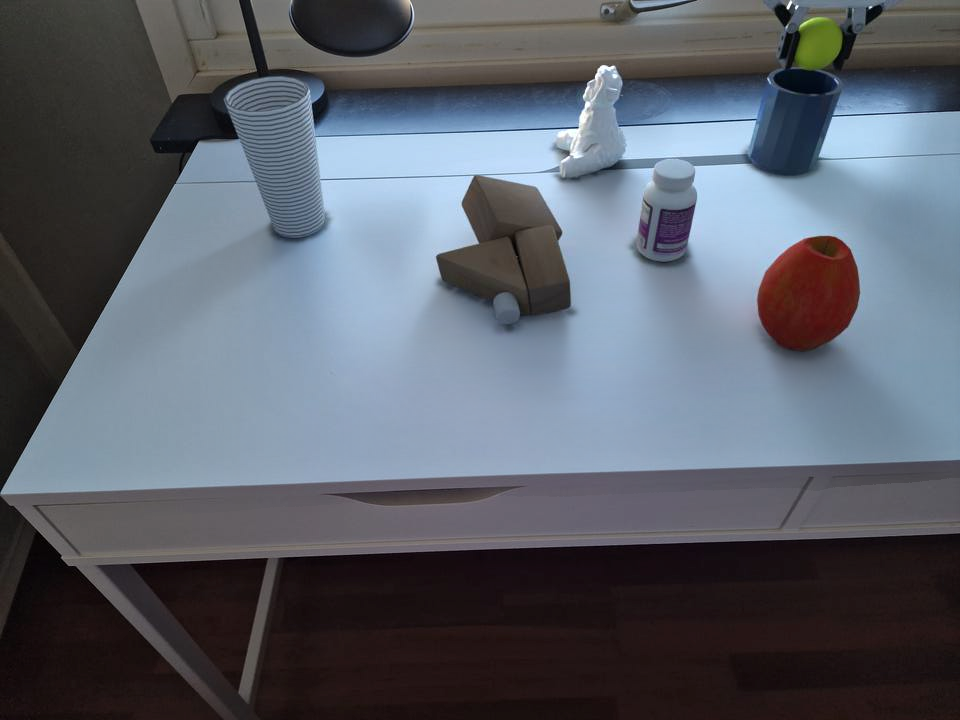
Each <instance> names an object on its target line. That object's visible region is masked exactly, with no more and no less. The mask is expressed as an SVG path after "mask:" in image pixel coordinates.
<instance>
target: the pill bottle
mask: <svg viewBox="0 0 960 720" xmlns="http://www.w3.org/2000/svg"><path fill="white" fill-rule="evenodd" d="M695 175H696V168H695V166H694V165H693V164H692V163H691V162H688V161H686V160H683V159H678V158H667V159H662V160H660V161H658V162H656V163H655V164H654V166H653V172H652V176H651V178H652V179H651V180H650V181H649V182H648V183H647V184H646V185H645V187H644V190H643V193H642V201H641V206H640V207H641V210H640V214H639V220H638V221H639V222H638V229H637V236H636V248H637V250H638V252H639V253H640V254H641V255H642V256H644V257H645V258H647V259H649V260H651V261H655V262H663V263H664V262H665V263H667V262H672V261H676V260H678V259H680V258H682V257H683V256H684V254H685V253H686V251H687V248H688V244H689V239H690V234H691V229H692V224H693V220H694V215H695V211H696V206H697V201H698V191H697V188H696V187H695V186H694V181H695Z"/></svg>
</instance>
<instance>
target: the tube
mask: <svg viewBox="0 0 960 720" xmlns="http://www.w3.org/2000/svg"><path fill="white" fill-rule="evenodd" d="M843 87H844V83H843V82H842V80H841V78H840V77H838V76H836V75H835V74H833V73H831V72H828V71H825V70H822V69H818V70H805V69H802V68H800V67H799V66H792V67H791V69H789V70H784V69H783V67H781V68H777V69H775V70H773V71H771V72H770V73H769V74H768V76H767V79H766V82H765V86H764V90H763V94H762V98H761V101H760V105H759V109H758V111H757V116H756V120H755V124H754V127H753V130H752V135H751V140H750V143H749V147H748V150H747V159H748V161H749V162H750V164H751V165H752V166H754V167H756V169H758V170H761V171H763V172H766V173H769V174H772V175H776V176H787V177H794V176H803V175H806V174H808V173H810V172H812V171H813V170H814V169H815V168H816V166H817V163H818V160H819V158H820V154H821V151H822V149H823V145H824V142H825V139H826V137H827V135H828V131H829V129H830V125H831V122H832V120H833V117H834V114H835V112H836V109H837V105H838V102H839V99H840V96H841V93H842V91H843Z"/></svg>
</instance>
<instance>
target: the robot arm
mask: <svg viewBox="0 0 960 720" xmlns="http://www.w3.org/2000/svg"><path fill="white" fill-rule="evenodd" d="M902 1H903V0H789V3H788V5H787V6H786V5H785V3H784V1H783V0H761V2H762V3H763V4H764V5H765V6H766V7H767V8H768V9H769V10H770V11H771V12H772V13H773V14H774V15H775V17H776V18H777V19H778V21H779V22H780V24H781V25H782V31H781V34H780V38H779V40H778V45H777V49H776V53H775V54H776V57H775V58H776V59H777V60H778V62H779V65H780V66H781V68H783V69H784V70H789V69H791V67H793V64H794V62H793V61H794V57H795V54H796V50H797V47H798V43H799V40H800V36H801V35H800V33H799V31H798V30H799V27H800V26H801V25H802V22H803V20H804V19H805V17H806V15H807V13H808V11H809V10H810V8H817V9H818V8H821V9H822V8H824V9H827V8H828V9H829V8H830V9H831V8H832V9H833V8H834V9H837V8H842V9H844V8H845V19H844V21H843V23H840V24H839V27H840V29H841V31H842V35H843V42H842V47H841V50H840V52H839V54H838V56H837V57H836V58H835V59H834V60H833V61H832V62H831V63H830V64H829V65H831V67H832V69H833V70H835V71H842V70H843V67H844V64H845V61H847V60H849V59H850V57H851V53H852V51H853V48H854V45H855V42H856V39H857V37H858V35H859V34H860V33H862V32H863V31H864V30H865V28H866V27H867V25H869V24H871V22H873V21H875V20H876V19H877V18H879V17H880V16H881V15H882V14H883V13H884V12H885V11H888V10H889V9H891V8H893V7H894V6H895V5H898V4H899V3H900V2H902Z"/></svg>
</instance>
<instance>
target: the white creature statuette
mask: <svg viewBox="0 0 960 720" xmlns="http://www.w3.org/2000/svg"><path fill="white" fill-rule="evenodd" d="M623 83H624V82H623V79H622V77H621V75H619V72H618V70H617V67H616V65H612V66H610V67H609V66H608V65H601V66H600V67H599V68H598V69H597V73H596V74H595V77H594V79H592V80H590V81H588V82H587V84H586V85H587V87H586V89H585V92H584V94H583V96H582V98H583V102H585V104H584V108H583V110H582V111H581V114H580V115H579V117H578V118H579V124H578V128H577V129H567V130H563V131H559V132H558V134H557V136H556V141H555V142H556V143H555V146H556V147H557V148H558V149H560V150H564V151H568V152H569V155H568V156H567V157H565V158H564V159H563V160H561V161H560V163H559V174H560V177H562V179H564V178H565V179H572V178H576V179H577V178H578V177H581V176H584V175H588V174H590V173H595V172H597V171H600V170H602V169H607V168H611V167H613V166H614V165H615V164H616V163H618V162H619V161H620V160H621V159H623V156H624V154H625V153H626V148H627V146H628V144H627V142H626V141H627V138H626V137H625V134H624V131H623V130H622V128H620V126H619V124H618V121H617V115H616V112H617V110H616V108H615V107H614V105H615V104H616V102H618V101H619V100H620V95H621V92H622V88H623V86H624V84H623Z"/></svg>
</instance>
